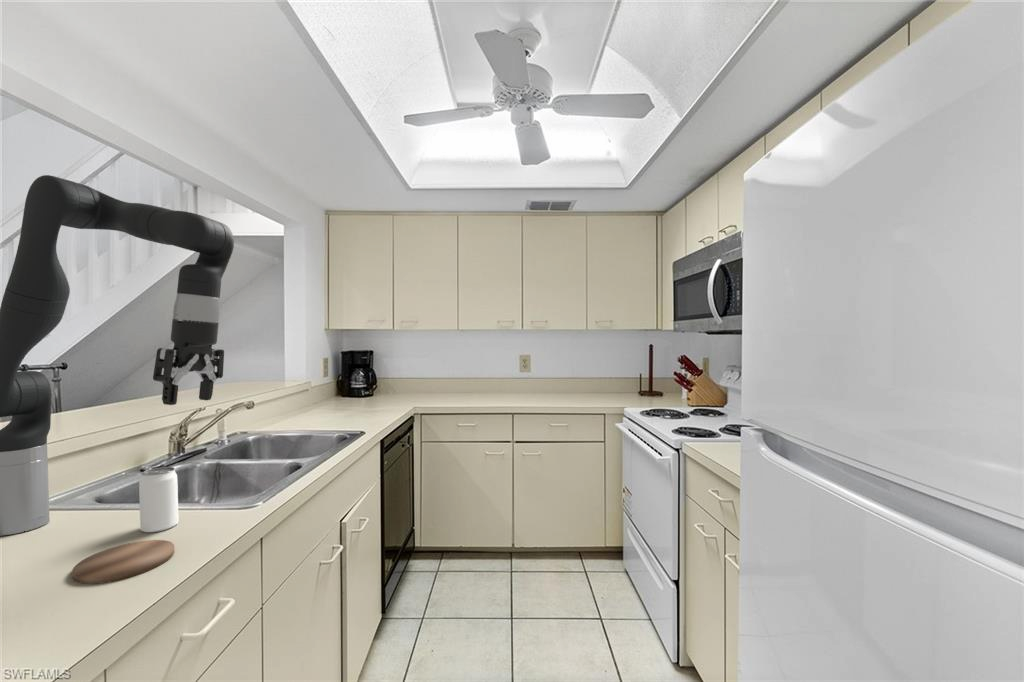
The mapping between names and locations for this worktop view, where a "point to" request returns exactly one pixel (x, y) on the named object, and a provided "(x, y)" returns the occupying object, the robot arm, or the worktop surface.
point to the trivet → (123, 561)
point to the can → (158, 499)
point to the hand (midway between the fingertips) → (187, 402)
